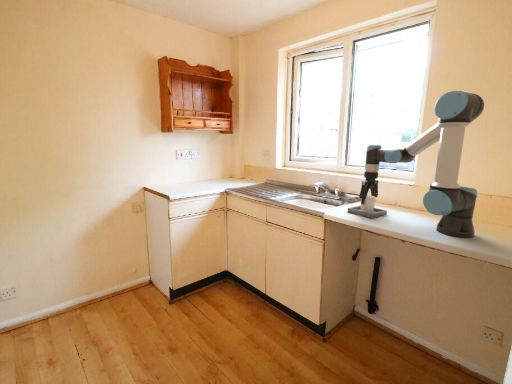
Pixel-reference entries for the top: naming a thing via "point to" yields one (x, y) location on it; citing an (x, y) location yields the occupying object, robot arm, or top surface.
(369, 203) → the white cup
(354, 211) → the tray
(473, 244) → the top surface
